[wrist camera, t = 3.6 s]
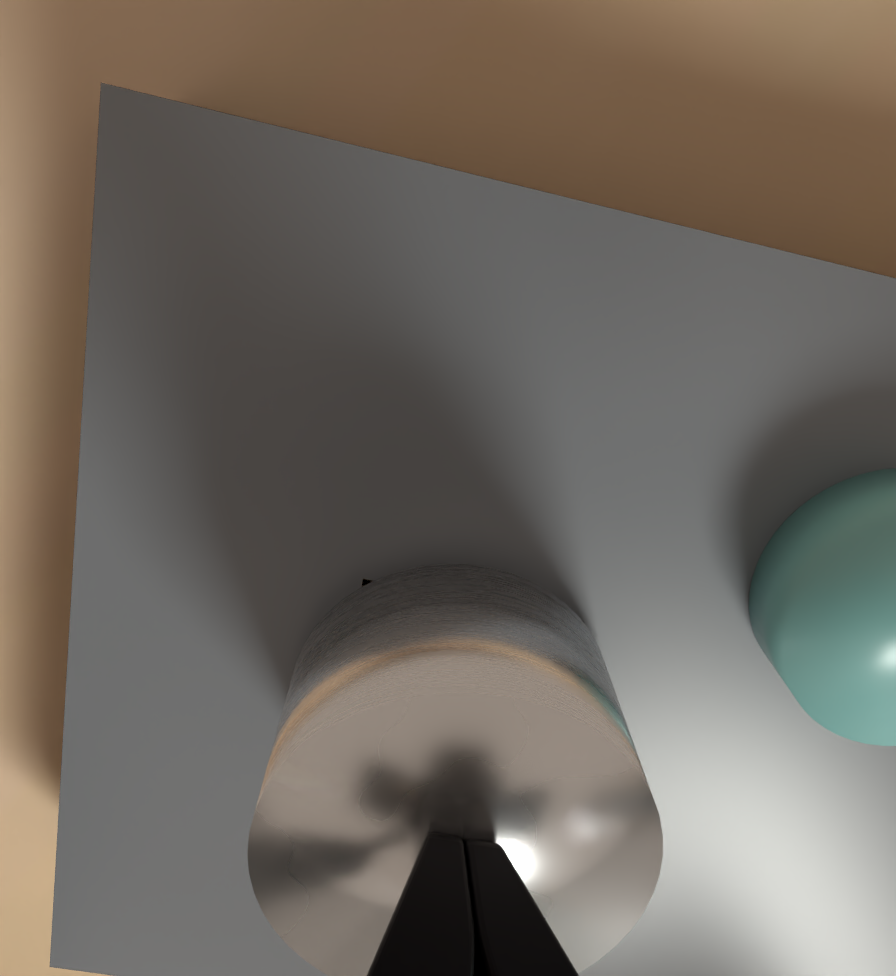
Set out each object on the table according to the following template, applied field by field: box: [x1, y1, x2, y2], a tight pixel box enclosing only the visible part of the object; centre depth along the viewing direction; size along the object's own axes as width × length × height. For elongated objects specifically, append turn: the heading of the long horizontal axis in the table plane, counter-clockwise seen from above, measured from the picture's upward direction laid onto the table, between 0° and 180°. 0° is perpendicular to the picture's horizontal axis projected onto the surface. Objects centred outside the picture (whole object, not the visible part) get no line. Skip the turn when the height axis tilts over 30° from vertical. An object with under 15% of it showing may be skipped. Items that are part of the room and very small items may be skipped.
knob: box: [247, 564, 663, 976], centre depth 11 cm, size 5×5×6 cm
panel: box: [50, 83, 896, 976], centre depth 13 cm, size 22×14×2 cm, turn 77°
